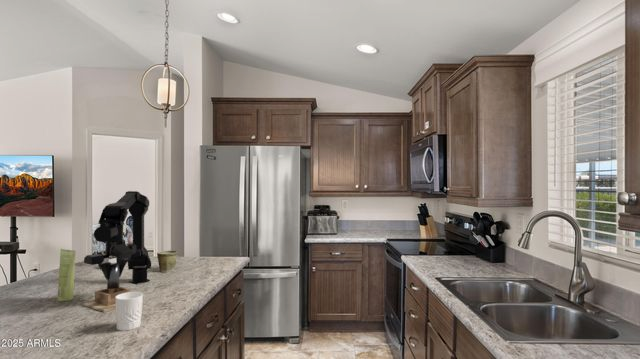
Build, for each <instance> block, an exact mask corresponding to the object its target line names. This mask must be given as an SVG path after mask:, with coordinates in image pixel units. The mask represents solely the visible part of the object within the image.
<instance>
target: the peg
mask: <svg viewBox="0 0 640 359" xmlns="http://www.w3.org/2000/svg"><path fill="white" fill-rule="evenodd" d="M119 276H120V263H111V264H110V266H109V280H106V289H115V288H118V287H119V286H120V277H121V276H120V277H119Z"/></svg>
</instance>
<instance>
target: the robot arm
mask: <svg viewBox="0 0 640 359" xmlns="http://www.w3.org/2000/svg"><path fill="white" fill-rule="evenodd" d="M149 206H150V200H149V198H148V196H146V195H144V194H141V193H140V191H137V190H136V191H135V190H134V191H133V190H128V191H125V194H124V195H123V196H121V198H120V199H118V201H116V202H112V203H109V204H107V205H105V206H104V208H103V209H102V212H101V214H100V217H99V219H98V224H99V226H98V227H96V228H95V230H94V232H93V237H94V239H95V240H96V241H97V242H99V243H103V244H104V245H105V248H104V249H105V250H103V252H102V253H103V254H97V253H93V254H88V255H86V256H84V258H83V263H84V264H86V265H87V264H88V265H91V266H94V265H99V266H98V267H99V268H100V270H101V271H102V274H103V276H104V277H105V280H106V281H107V280H109V266H110V264H111V262H109V259H113V258H116V262H117V263H120V276H119V278H121V276H122V274H123V271H124V269H125V266H126V264H127V268H128V269H127V270H129V271H130V270H132V274H131V277H132V278H131V279H130V280H129V281H128V283H132V284H136V285H138V284H143V283H145V282H147V283H148V282H150V281H151V279H148V269H151V268H152V261H151V258H150V256H149V251H148V250H147V248H146V247H145V216H146V214H147V212H148V211H149ZM128 214H130V216H131V217H132V244H129V245H126V240H124V232H123V225H124V226H125V221H126V219H127V216H128ZM109 256H110V257H109Z"/></svg>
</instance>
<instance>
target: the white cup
mask: <svg viewBox="0 0 640 359" xmlns="http://www.w3.org/2000/svg"><path fill="white" fill-rule="evenodd" d="M143 299H144V293H143V292H141V291H130V292H126V293H122V294H119V295H117V296H116V297H115V308H116V309H115V321H116V330H117V331H121V332H123V331H124V332H125V331H131V330H135V329H138V328H139V327H140V326H141V322H142V315H143V313H142V312H143V304H144V303H143V302H144V300H143Z"/></svg>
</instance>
